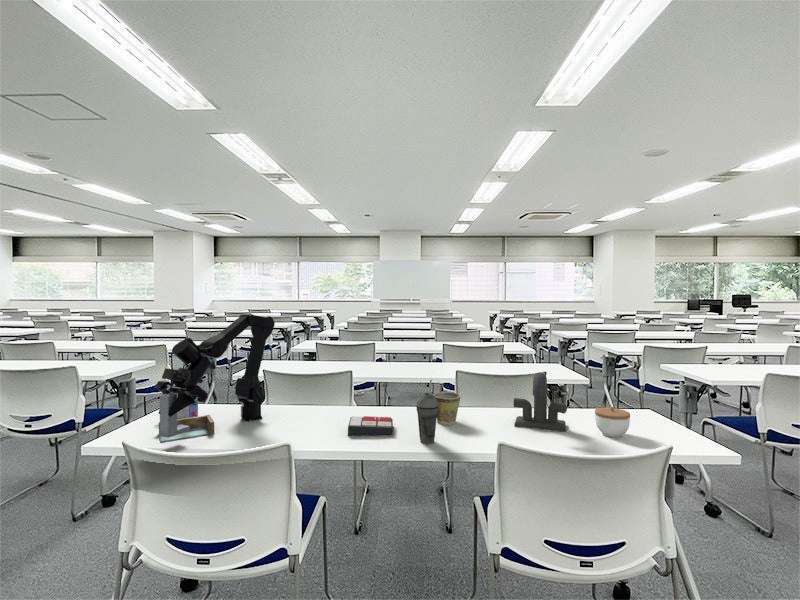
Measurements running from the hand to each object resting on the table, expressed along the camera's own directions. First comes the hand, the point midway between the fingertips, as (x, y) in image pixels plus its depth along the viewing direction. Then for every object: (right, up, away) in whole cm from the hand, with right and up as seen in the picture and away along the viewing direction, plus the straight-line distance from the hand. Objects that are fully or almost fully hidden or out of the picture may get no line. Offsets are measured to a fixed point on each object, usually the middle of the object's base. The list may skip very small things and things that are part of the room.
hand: (164, 414), depth 134 cm
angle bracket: (+2, -7, +3) cm, 8 cm away
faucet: (+121, -10, +19) cm, 123 cm away
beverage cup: (+81, -10, +6) cm, 82 cm away
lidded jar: (+144, -10, +13) cm, 145 cm away
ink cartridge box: (-11, -10, +34) cm, 37 cm away
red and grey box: (+62, -11, +17) cm, 65 cm away
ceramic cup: (+90, -10, +28) cm, 95 cm away
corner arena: (0, -10, +14) cm, 17 cm away
